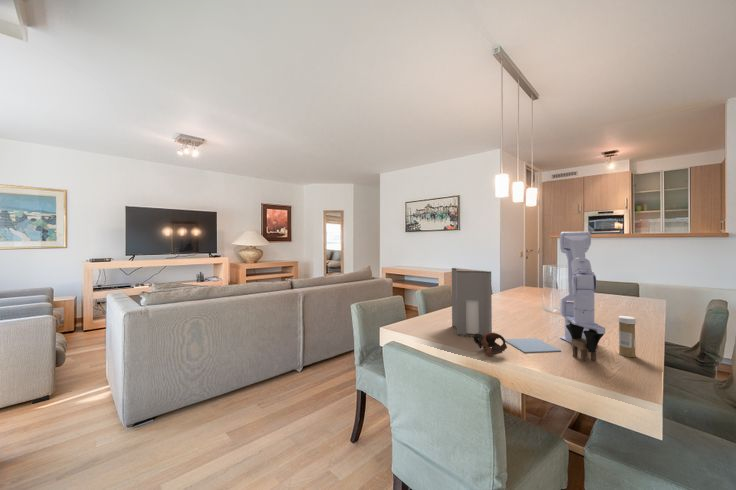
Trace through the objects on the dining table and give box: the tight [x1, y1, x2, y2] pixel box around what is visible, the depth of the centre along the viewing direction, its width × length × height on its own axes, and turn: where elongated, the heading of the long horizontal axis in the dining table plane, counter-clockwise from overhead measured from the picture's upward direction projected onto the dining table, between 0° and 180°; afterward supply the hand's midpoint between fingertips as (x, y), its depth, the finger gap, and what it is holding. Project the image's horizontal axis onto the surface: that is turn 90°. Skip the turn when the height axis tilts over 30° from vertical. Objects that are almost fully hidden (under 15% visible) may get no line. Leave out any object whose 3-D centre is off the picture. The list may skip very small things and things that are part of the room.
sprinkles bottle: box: [618, 315, 637, 358], centre depth 104 cm, size 5×5×14 cm
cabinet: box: [451, 267, 493, 337], centre depth 131 cm, size 21×10×28 cm, turn 30°
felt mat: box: [504, 337, 562, 354], centre depth 115 cm, size 14×14×1 cm
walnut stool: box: [571, 338, 598, 362], centre depth 102 cm, size 5×5×6 cm
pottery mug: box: [472, 332, 508, 357], centre depth 109 cm, size 12×10×8 cm
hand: (584, 348), depth 102 cm, fingers open, 5 cm apart
